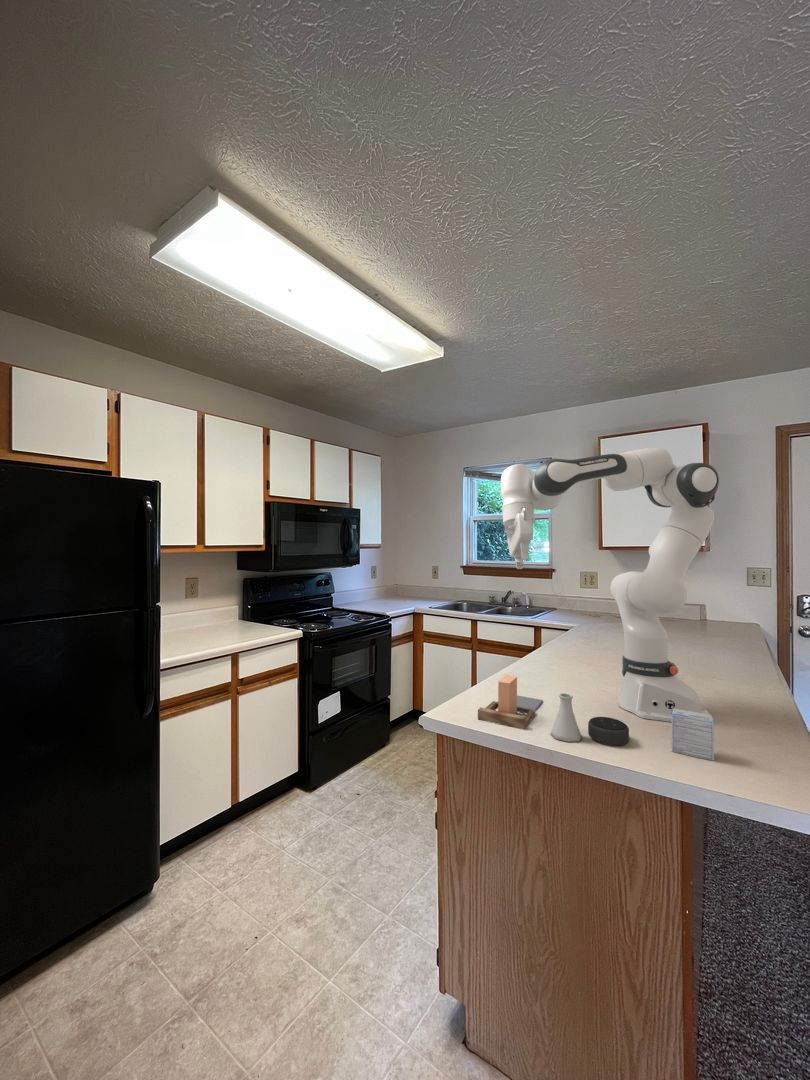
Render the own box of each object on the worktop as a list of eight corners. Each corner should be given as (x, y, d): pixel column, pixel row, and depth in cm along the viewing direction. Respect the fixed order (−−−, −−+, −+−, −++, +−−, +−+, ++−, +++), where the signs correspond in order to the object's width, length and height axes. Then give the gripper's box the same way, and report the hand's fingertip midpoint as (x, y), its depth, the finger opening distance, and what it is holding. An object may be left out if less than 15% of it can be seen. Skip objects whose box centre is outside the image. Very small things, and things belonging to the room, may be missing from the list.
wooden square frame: (535, 713, 120) (535, 704, 120) (523, 729, 110) (523, 719, 110) (493, 705, 126) (493, 696, 126) (477, 719, 116) (477, 709, 116)
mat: (542, 701, 130) (542, 700, 130) (535, 711, 122) (535, 709, 122) (506, 695, 135) (506, 693, 135) (497, 703, 128) (497, 702, 128)
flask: (584, 744, 102) (584, 701, 102) (552, 741, 103) (552, 698, 103) (578, 731, 109) (578, 691, 109) (548, 729, 110) (548, 689, 110)
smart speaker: (601, 728, 111) (601, 713, 111) (636, 741, 103) (636, 724, 104) (580, 737, 106) (580, 720, 106) (615, 751, 98) (615, 733, 99)
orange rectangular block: (516, 713, 121) (517, 676, 121) (509, 721, 115) (509, 683, 115) (506, 710, 122) (506, 675, 122) (498, 719, 116) (498, 681, 116)
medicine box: (713, 753, 97) (712, 714, 98) (714, 761, 94) (714, 721, 94) (671, 744, 102) (671, 707, 102) (671, 752, 98) (671, 713, 98)
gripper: (536, 503, 115) (541, 553, 111) (524, 529, 135) (528, 572, 130) (512, 504, 116) (516, 553, 112) (503, 529, 135) (506, 573, 131)
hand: (522, 564), depth 121 cm, fingers open, 8 cm apart
